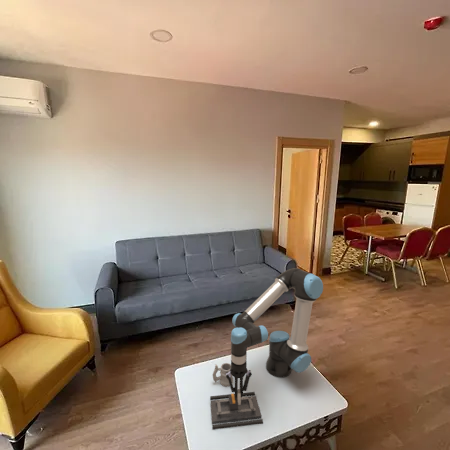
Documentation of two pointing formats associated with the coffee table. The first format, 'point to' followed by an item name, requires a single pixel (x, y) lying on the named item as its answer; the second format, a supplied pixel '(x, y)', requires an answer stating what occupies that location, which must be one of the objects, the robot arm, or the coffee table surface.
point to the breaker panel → (245, 410)
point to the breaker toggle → (233, 403)
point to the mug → (222, 374)
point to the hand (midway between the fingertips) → (238, 402)
